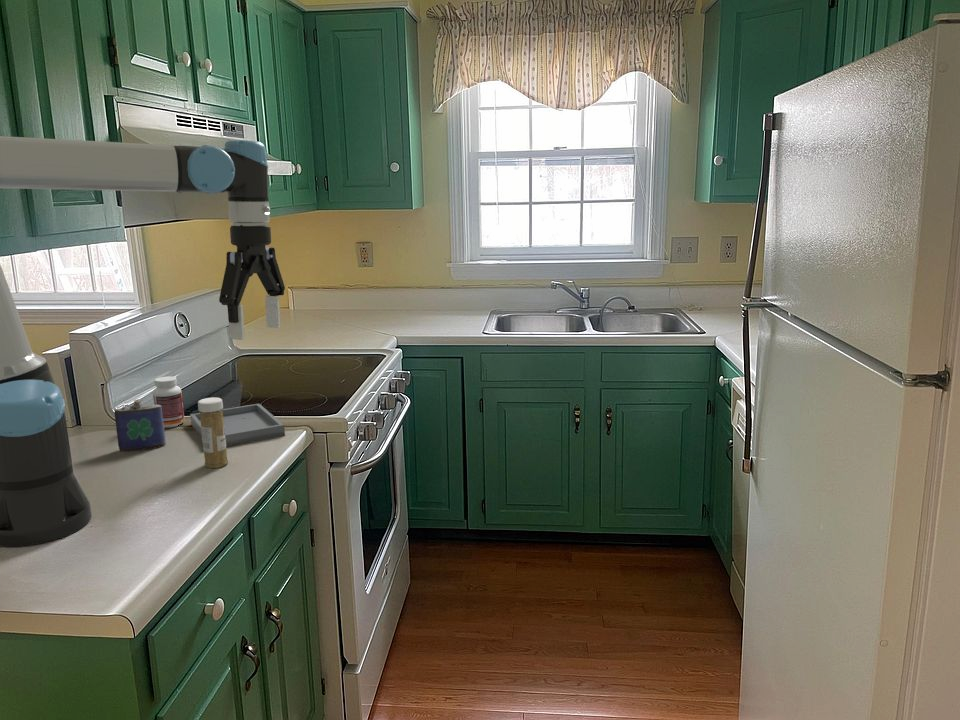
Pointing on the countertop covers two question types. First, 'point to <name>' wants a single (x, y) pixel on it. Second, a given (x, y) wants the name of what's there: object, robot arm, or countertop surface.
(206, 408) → the sprinkles bottle
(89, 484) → the countertop surface
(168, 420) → the pill bottle
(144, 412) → the flask
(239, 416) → the tray
